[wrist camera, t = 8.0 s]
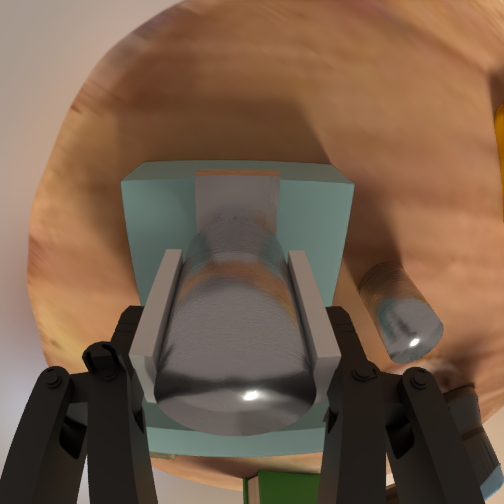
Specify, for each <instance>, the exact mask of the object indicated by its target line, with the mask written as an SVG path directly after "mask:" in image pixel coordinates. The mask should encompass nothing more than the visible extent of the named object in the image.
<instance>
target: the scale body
mask: <svg viewBox="0 0 504 504" xmlns="http://www.w3.org/2000/svg"><path fill="white" fill-rule="evenodd" d="M198 169H247V170H277V171H278V173H279V175H280V189H279V203H278V217H277V230H276V238H277V240H278V241H279V243H280V245H281V247H282V249H283V253H284V256H285V260H286V264H287V259H288V250H304V251H305V254H306V257H307V259H308V262H309V265H310V267H311V270H312V273H313V276H314V278H315V281H316V284H317V286H318V289H319V292H320V295H321V298H322V300H323V303H324V306H325V307H331V305H332V301H333V297H334V292H335V288H336V283H337V279H338V274H339V269H340V265H341V260H342V255H343V250H344V244H345V239H346V234H347V228H348V223H349V217H350V211H351V205H352V199H353V192H354V186H355V184H354V183H353V182H352V181H351V180H349V179H348V178H347V177H346V176H345V175H344V174H342V173H341V172H340V171H339V170H338V169H337V168H335V167H334V166H333V165H331V164H318V163H302V162H284V161H257V160H179V161H153V162H143V163H142V164H141V165H139V166H138V167H137V168H136V169H134V170H133V171H132V172H131V173H130V174H128V175H127V176H126V177H125V178H124V179H122V180H121V181H120V182H121V191H122V199H123V207H124V214H125V221H126V228H127V235H128V241H129V247H130V253H131V258H132V264H133V269H134V274H135V279H136V284H137V289H138V294H139V298H140V303H141V306H145V305H146V302H147V299H148V296H149V294H150V291H151V288H152V286H153V283H154V280H155V278H156V275H157V272H158V270H159V267H160V264H161V262H162V259H163V257H164V254H165V252H166V249H182V253H183V264H184V260H185V257H186V253H187V250H188V247H189V245H190V243H191V241H192V240H193V238H194V237H195V236H196V235H197V227H196V204H195V174H196V172H197V170H198ZM142 406H143V409H144V412H145V421H146V430H147V438H148V446H149V451H152V452H160V453H169V454H179V455H192V456H210V457H266V456H284V455H297V454H307V453H316V452H323V448H324V438H325V427H326V421H325V422H322V421H323V418H324V416H325V414H326V411H327V409H328V407H329V401H328V397H327V396H326V398H325V401H324V403H315V404H313V406H312V407H311V408H310V410H309V411H308V412H307V413H306V414H305V415H304V416H303V417H301V418H300V419H299V420H297V421H295V422H294V423H292V424H290V425H288V426H286V427H284V428H281V429H279V430H275V431H272V432H269V433H264V434H259V435H252V436H236V437H235V436H219V435H213V434H207V433H203V432H199V431H196V430H193V429H190V428H188V427H185V426H183V425H181V424H179V423H178V422H176V421H174V420H173V419H171V418H170V417H169V416H167V415H166V414H165V413H164V412H163V411H162V410H161V408H160V407H159V406H158V404H157V403H151V402H147V401H146V398H145V396H144V397H143V401H142Z"/></svg>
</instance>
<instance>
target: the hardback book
mask: <svg viewBox="0 0 504 504" xmlns="http://www.w3.org/2000/svg"><path fill="white" fill-rule="evenodd" d="M319 482H320V474H297V473H283V472H272V471H263V470H259V471H258V476H256V477H254V478H252V479H250V478H244V479H243V496H244V497H243V498H244V504H316V503H317V496H318V489H319Z"/></svg>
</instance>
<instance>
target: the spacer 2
mask: <svg viewBox="0 0 504 504" xmlns="http://www.w3.org/2000/svg"><path fill="white" fill-rule="evenodd" d="M359 294H360V296H361V298H362V300H363V302H364V304H365V306H366V308H367V310H368V312H369V314H370V316H371V318H372V321H373V323H374V325H375V327H376V329H377V331H378V333H379V335H380V337H381V339H382V341H383V344H384V346H385V348H386V350H387V352H388V354H389V356H390V359H391V360H392V361H394V362H396V363H409V362H413V361H415V360H417V359H419V358H421V357H423V356H424V355H426V354H427V353H429V352H430V351H431V350H432V349H433V348H434V347H435V346H436V345H437V343H438V342H439V340H440V339H441V337H442V334H443V324H442V322H441V321H440V319H439V318H438V316H437V315H436V313H435V312H434V311H433V309H432V308H431V306H430V305H429V303H428V302H427V301H426V299H425V298H424V296H423V295H422V294H421V292H420V291H419V290H418V288H417V287H416V286H415V284H414V283H413V281H412V280H411V279H410V277H409V276H408V275H407V274H406V272H405V271H404V270H403V268H402V267H401V266H400V265H398V264H396V263H393V262H385V263H381V264H379V265H376V266H375V267H373V268H372V269H370V270H369V271H368V272H367V273H366V274H365V276H364V277H363V279H362V281H361V283H360V286H359Z"/></svg>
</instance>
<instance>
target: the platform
mask: <svg viewBox="0 0 504 504" xmlns="http://www.w3.org/2000/svg"><path fill="white" fill-rule="evenodd" d="M279 189H280V175H279V173H278V171H277V170H247V169H198V170H197V172H196V174H195V204H196V227H197V234H198V233H199V232H200V231H201V230H202V229H204V228H205V227H207V226H209V225H211V224H213V223H215V222H218V221H222V220H228V219H243V220H248V221H251V222H255V223H257V224H259V225H261V226H263V227H265V228H266V229H268V230H269V231H270V232H271V233H272V234H273V235H274V236H275V237H276V230H277V217H278V203H279Z"/></svg>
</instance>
